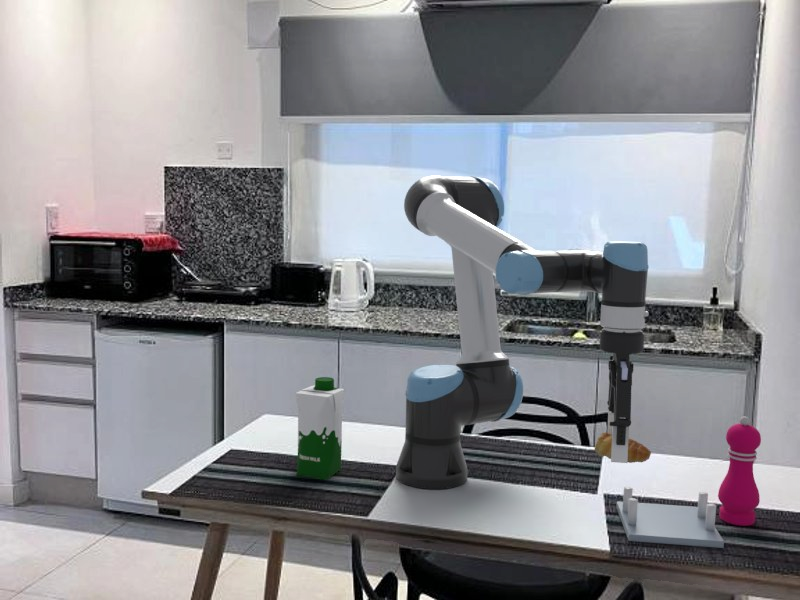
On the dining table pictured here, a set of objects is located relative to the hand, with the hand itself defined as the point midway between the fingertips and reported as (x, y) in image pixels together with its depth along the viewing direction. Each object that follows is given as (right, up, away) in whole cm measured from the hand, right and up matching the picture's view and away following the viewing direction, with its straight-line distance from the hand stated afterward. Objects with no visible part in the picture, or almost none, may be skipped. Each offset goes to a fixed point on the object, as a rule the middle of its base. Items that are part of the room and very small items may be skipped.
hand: (616, 454), depth 146 cm
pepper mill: (+25, -14, +8) cm, 30 cm away
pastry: (+1, 0, 0) cm, 1 cm away
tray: (+10, -14, +4) cm, 18 cm away
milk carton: (-56, -9, +28) cm, 63 cm away
